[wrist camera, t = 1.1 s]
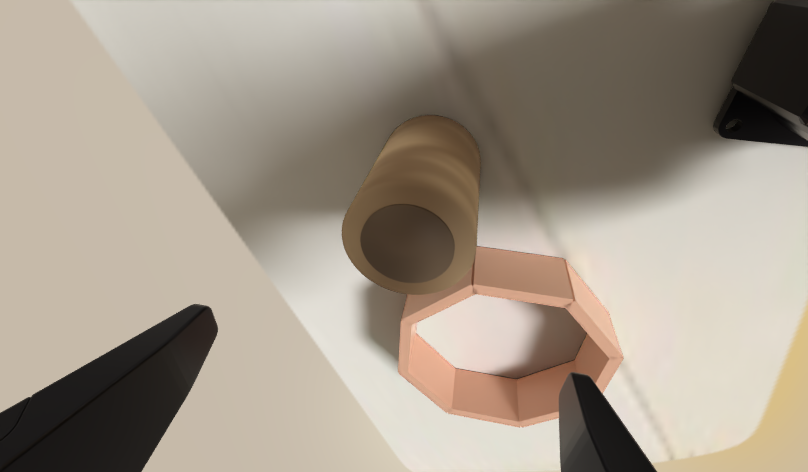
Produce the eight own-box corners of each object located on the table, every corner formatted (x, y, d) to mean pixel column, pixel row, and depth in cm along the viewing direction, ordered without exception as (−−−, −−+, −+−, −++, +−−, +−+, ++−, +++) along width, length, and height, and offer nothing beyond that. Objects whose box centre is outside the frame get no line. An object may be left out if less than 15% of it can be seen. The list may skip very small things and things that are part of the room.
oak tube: (488, 120, 17) (487, 196, 11) (472, 211, 19) (466, 306, 14) (384, 110, 17) (336, 177, 12) (383, 199, 20) (343, 286, 15)
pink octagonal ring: (632, 268, 20) (651, 311, 17) (568, 394, 26) (575, 438, 24) (413, 237, 21) (403, 273, 19) (404, 364, 28) (396, 403, 25)
